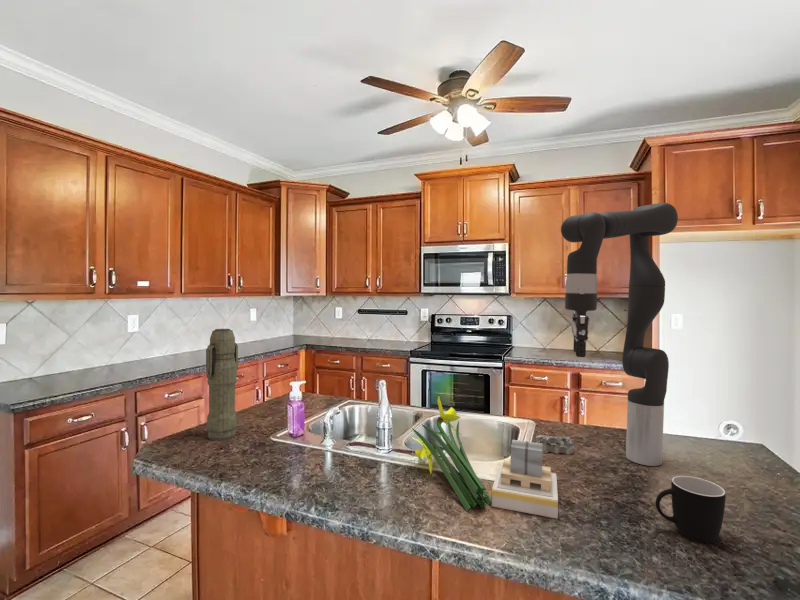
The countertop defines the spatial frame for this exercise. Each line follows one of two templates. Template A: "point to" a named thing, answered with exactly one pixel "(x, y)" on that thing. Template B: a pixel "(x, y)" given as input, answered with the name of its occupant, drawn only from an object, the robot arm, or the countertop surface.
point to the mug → (695, 507)
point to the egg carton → (555, 444)
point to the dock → (525, 496)
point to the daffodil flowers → (466, 473)
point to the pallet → (526, 466)
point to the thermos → (222, 384)
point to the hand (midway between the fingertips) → (579, 354)
